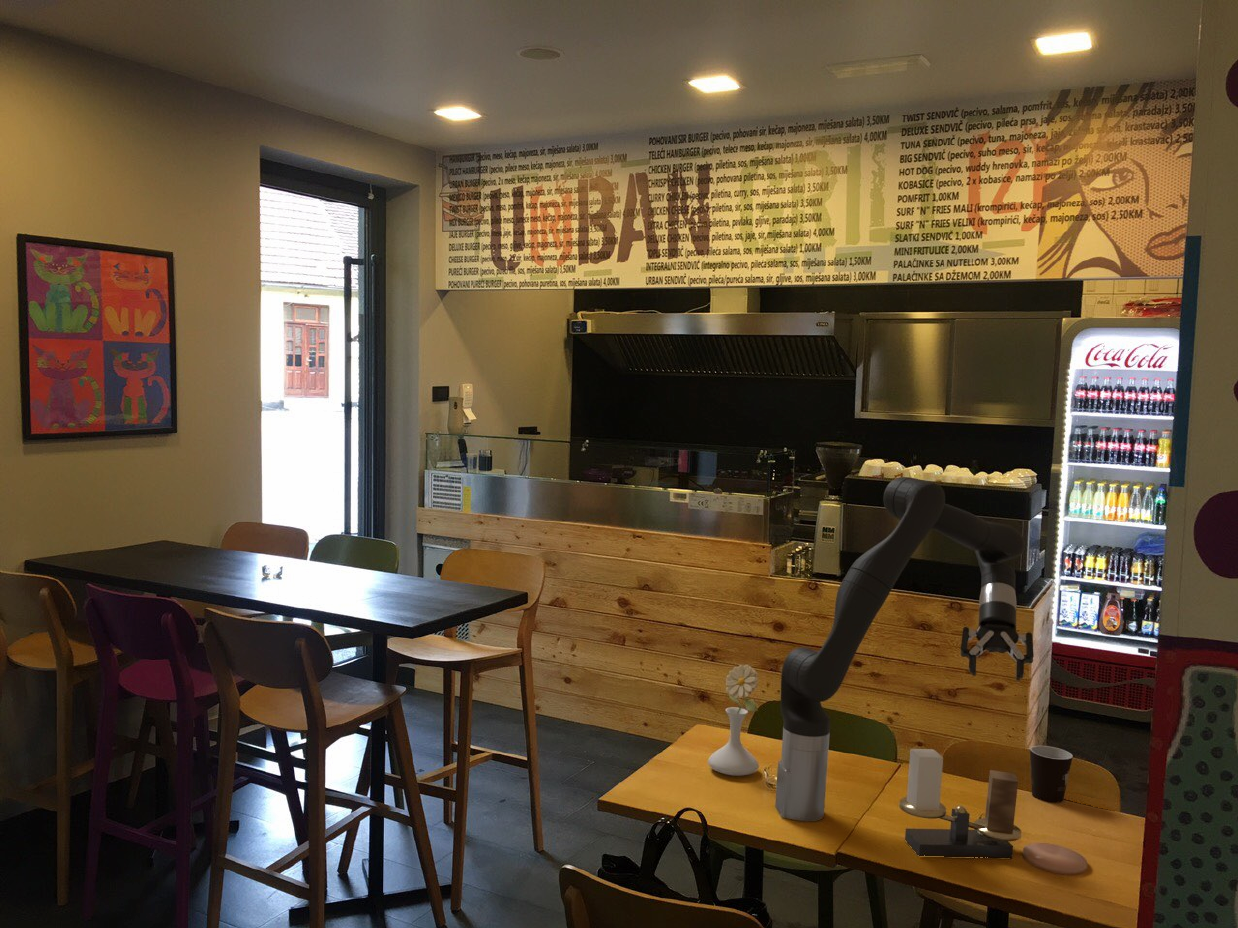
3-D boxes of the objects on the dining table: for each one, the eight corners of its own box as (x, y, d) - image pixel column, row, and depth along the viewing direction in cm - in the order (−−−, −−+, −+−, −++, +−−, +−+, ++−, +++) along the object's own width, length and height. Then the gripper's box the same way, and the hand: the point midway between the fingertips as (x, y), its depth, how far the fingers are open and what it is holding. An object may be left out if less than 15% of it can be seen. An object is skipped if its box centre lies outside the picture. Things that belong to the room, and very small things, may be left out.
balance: (906, 858, 184) (909, 813, 184) (889, 839, 193) (893, 795, 192) (1027, 860, 186) (1031, 816, 186) (1006, 841, 195) (1009, 798, 194)
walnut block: (987, 829, 188) (992, 777, 188) (984, 820, 193) (990, 769, 192) (1012, 834, 187) (1018, 781, 187) (1009, 824, 192) (1015, 773, 191)
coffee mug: (1050, 806, 214) (1054, 761, 213) (1017, 792, 222) (1021, 747, 221) (1086, 799, 219) (1090, 755, 219) (1053, 785, 227) (1057, 742, 226)
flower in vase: (698, 764, 228) (704, 656, 226) (741, 759, 232) (747, 653, 231) (728, 785, 216) (735, 671, 214) (772, 779, 221) (779, 668, 219)
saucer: (1041, 874, 181) (1041, 868, 181) (1012, 847, 192) (1012, 842, 192) (1099, 874, 182) (1099, 869, 182) (1066, 848, 193) (1067, 843, 193)
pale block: (915, 809, 186) (919, 756, 185) (906, 800, 190) (910, 748, 190) (939, 810, 186) (943, 757, 186) (929, 800, 191) (933, 749, 190)
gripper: (962, 596, 216) (959, 664, 206) (1034, 602, 211) (1034, 671, 201) (962, 615, 221) (959, 681, 212) (1032, 620, 216) (1032, 688, 207)
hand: (996, 676), depth 206 cm, fingers open, 8 cm apart
